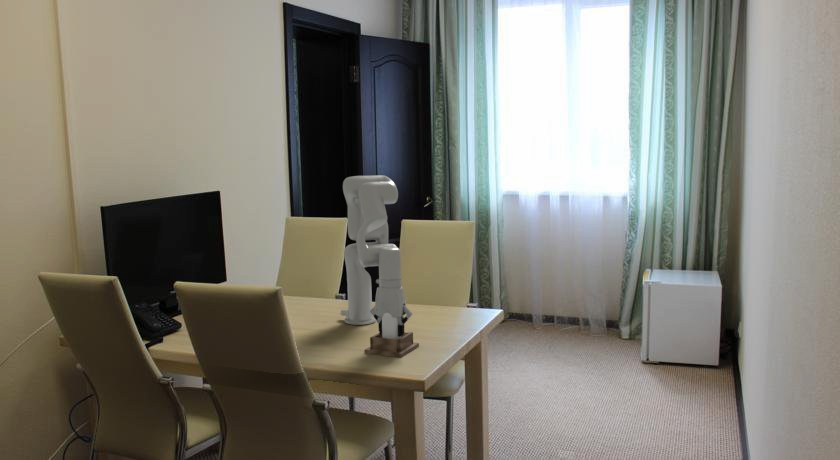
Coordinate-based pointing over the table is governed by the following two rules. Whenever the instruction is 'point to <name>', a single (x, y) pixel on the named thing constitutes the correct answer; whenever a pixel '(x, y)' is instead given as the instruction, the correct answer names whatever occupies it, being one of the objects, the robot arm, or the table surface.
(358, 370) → the table surface
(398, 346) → the holder
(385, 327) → the can
